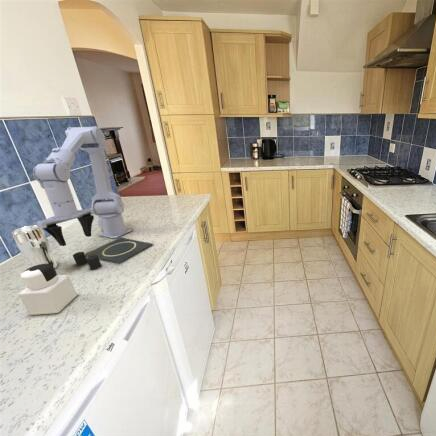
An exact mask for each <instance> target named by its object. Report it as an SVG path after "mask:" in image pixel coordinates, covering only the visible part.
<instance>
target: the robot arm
mask: <svg viewBox="0 0 436 436" xmlns="http://www.w3.org/2000/svg"><path fill="white" fill-rule="evenodd" d="M64 132H65V133H64V134H65V136H66V138H65V140H64V141H63V143H62V145H61V147H55V148H52V149H51V153H50V154H49V155H48V156H47V157H46V159H45V160H44V161H43V163H38V164H36V166H34V167H33V169H32V172H33V174H32V176H33V178H34V180H35V181H37V182H38V183H39V185H40V188H42V189H43V190H44V192H45V194H46V197H47V200H48V203H49V205H50V207H51V210H52V213H53V215H54V216H51V217H48V218H45V219H42V220H39V221H36V223H37V225H38V226H39V228H42V230H43V231H45V232H46V233H48V234H49V235H50V236H51V237H52V238H54V240H55V241H56V242H57V244H58V245H59V246H61V247H65V246H67V243H66V240H65V237H64V235H63V229H62V226H60V225H59V224H61V223H65V222H68V221H71V220H75V219H77V220H78V223H79V224H80V226H81V228H82V231H83V234H84V236H85V237H87V238H90V237H92V228H93V227H92V225H93V222H94V220H95V217H94V215H95V216H97V225H98V227H99V229H100V230H99V231H100V234H99V236H101V237H105V238H110V239H118V238H120V237H122V236H124V235H126V234H128V233H130V232H132V229H129V228H127V227H126V224H125V221H124V217H123V215H122V214H123V212H124V211H125V203H124V201H123V200H122V197H121V195H120V194H117V193H116V192H114V191H113V189H112V183H111V178H110V173H109V169H108V164H107V157H106V153H105V151H106V150H107V147H108V146H107V141H106V135H105V133H104V132H103V130H102V129H101V128H100V127H98V125H97V126H96V125H95V126H75V127H73V126H69V127H67V129H66V130H65V131H64ZM78 150H81V151H85V152H87V154H88V155H89V162H90V165H91V170H92V175H93V180H94V186H95V190H96V193H95V194H94V195H93V196H92V197H91V208H90V207H88V208H83V209H79V210H78V208H77V205H76V202H75V199H74V196H73V192H72V190H71V187H70V184H69V182H68V181H69V180H70V178H71V167H72V166H73V164H74V163H75V161H76V160H77V159H76V155H75V154H76V153H77V151H78Z"/></svg>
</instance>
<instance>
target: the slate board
mask: <svg viewBox="0 0 436 436" xmlns="http://www.w3.org/2000/svg"><path fill="white" fill-rule="evenodd" d="M152 246H154V244H153V243H151V242H145V241H140V240H135V239H130V238H126V237H117V238H115V239H114V240H112V241H110V242H107V243H106V244H104V245H102V246H99V247H97V248H94V249H93V250H91V251H89V252H87V253H84V254H85V257H89V256H92V255H97V256H98V259H99V260H102V261H106V262H109V263H114V264H118V265H120V264H123V263H124V262H126V261H128V260H129V259H131V258H133V257H135V256H136V255H138V254H140V253H141V252H143V251H145V250H147V249H149V248H150V247H152Z"/></svg>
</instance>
